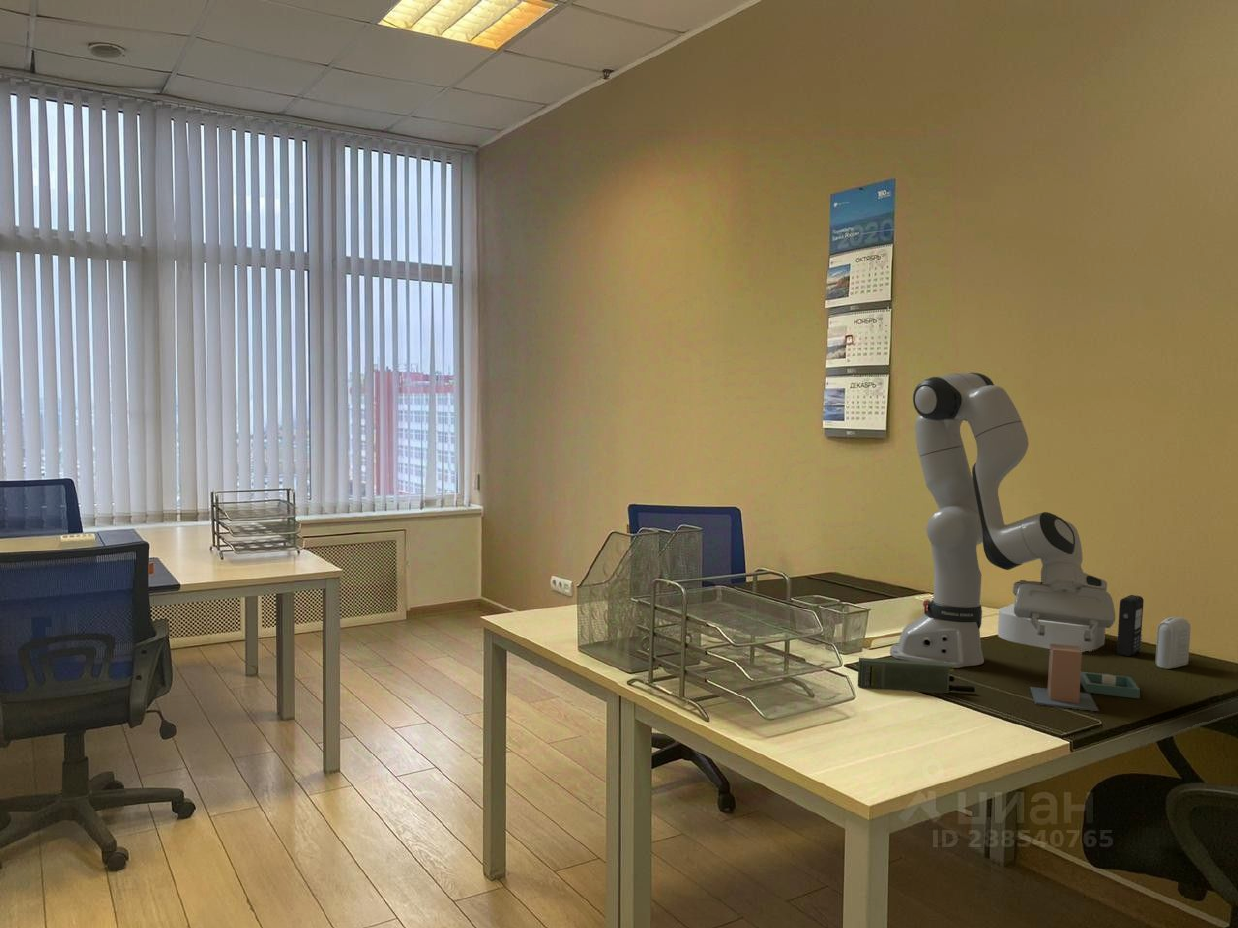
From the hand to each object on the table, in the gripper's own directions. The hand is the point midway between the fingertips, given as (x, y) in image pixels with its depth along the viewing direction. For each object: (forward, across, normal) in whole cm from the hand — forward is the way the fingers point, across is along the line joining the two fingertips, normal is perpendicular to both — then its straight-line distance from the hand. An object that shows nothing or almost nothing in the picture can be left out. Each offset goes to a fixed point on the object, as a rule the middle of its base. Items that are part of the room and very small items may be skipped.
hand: (1064, 637), depth 199 cm
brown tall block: (+10, +1, +9) cm, 13 cm away
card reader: (-27, +24, +46) cm, 59 cm away
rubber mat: (+10, +1, +9) cm, 14 cm away
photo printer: (-21, +31, +40) cm, 55 cm away
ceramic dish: (0, +12, +19) cm, 22 cm away
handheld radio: (+15, -30, +6) cm, 34 cm away
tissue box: (-33, +6, +53) cm, 63 cm away
